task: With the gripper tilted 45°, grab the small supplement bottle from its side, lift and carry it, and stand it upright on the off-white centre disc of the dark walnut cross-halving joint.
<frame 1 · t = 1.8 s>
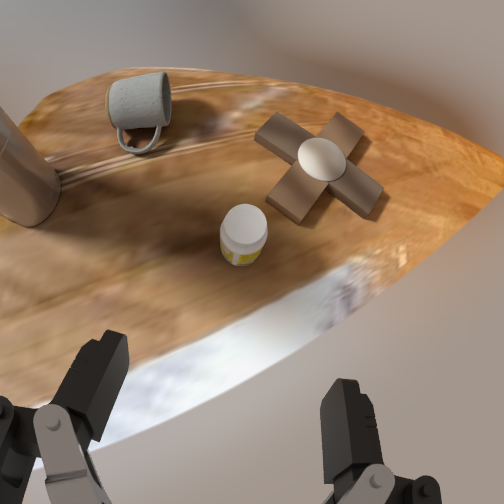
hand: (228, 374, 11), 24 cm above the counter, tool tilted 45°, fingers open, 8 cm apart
ceramic mug: (145, 125, 40), on the counter
walnut cross joint: (318, 165, 41), on the counter
supplement bottle: (240, 247, 37), on the counter
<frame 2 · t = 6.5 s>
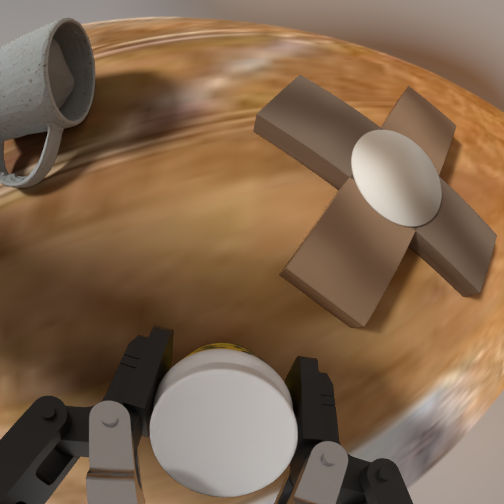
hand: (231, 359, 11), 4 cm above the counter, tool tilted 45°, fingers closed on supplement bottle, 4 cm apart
ceramic mug: (47, 128, 18), on the counter
walnut cross joint: (386, 187, 19), on the counter
supplement bottle: (222, 385, 15), on the counter, touching gripper
when the fingers open (7 cm above the counter, at t = 11.9 s): supplement bottle stays where it is, resting on walnut cross joint.
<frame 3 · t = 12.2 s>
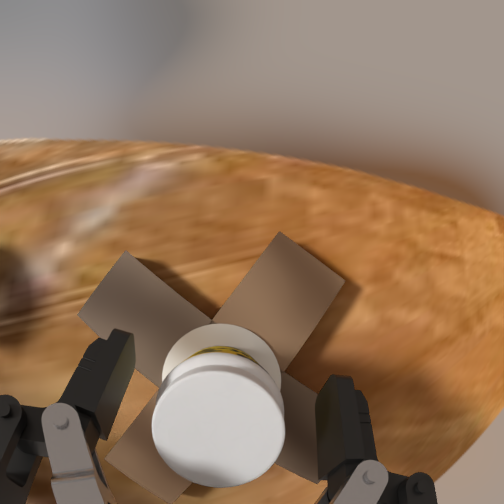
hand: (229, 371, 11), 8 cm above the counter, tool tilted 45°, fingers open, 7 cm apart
walnut cross joint: (221, 376, 18), on the counter
supplement bottle: (221, 385, 16), point 2 cm above the counter, touching walnut cross joint
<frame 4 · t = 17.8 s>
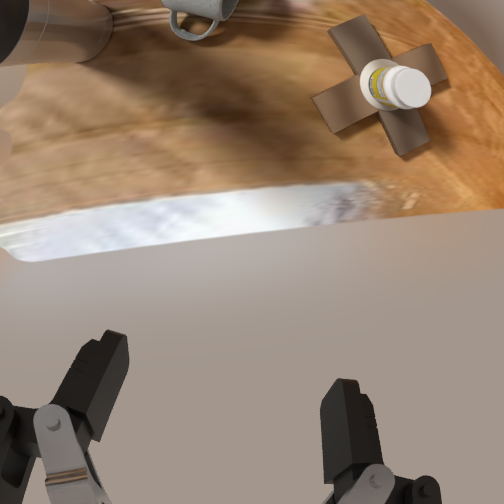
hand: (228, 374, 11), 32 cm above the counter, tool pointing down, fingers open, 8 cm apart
ceramic mug: (207, 4, 29), on the counter
walnut cross joint: (380, 84, 32), on the counter
supplement bottle: (384, 86, 31), point 2 cm above the counter, touching walnut cross joint
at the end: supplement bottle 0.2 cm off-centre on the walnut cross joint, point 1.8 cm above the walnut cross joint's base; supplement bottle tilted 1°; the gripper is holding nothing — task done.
